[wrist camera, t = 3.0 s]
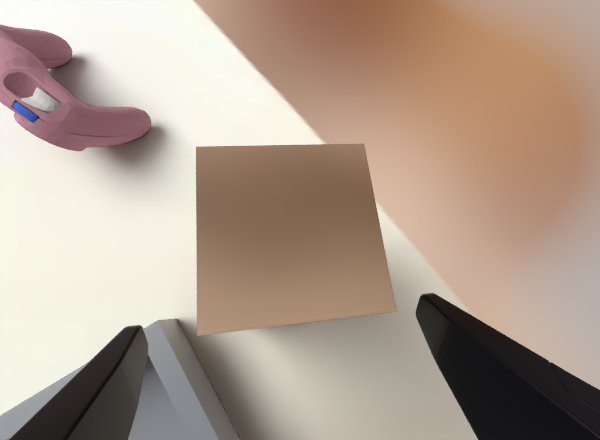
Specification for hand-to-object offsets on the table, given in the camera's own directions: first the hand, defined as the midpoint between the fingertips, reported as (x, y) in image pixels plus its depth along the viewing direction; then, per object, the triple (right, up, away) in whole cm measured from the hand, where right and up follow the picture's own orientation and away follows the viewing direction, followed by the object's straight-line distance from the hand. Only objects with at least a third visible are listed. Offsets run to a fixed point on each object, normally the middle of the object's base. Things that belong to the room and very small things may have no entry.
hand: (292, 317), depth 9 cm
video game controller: (-15, +11, +11) cm, 22 cm away
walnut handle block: (-2, -1, +10) cm, 10 cm away
